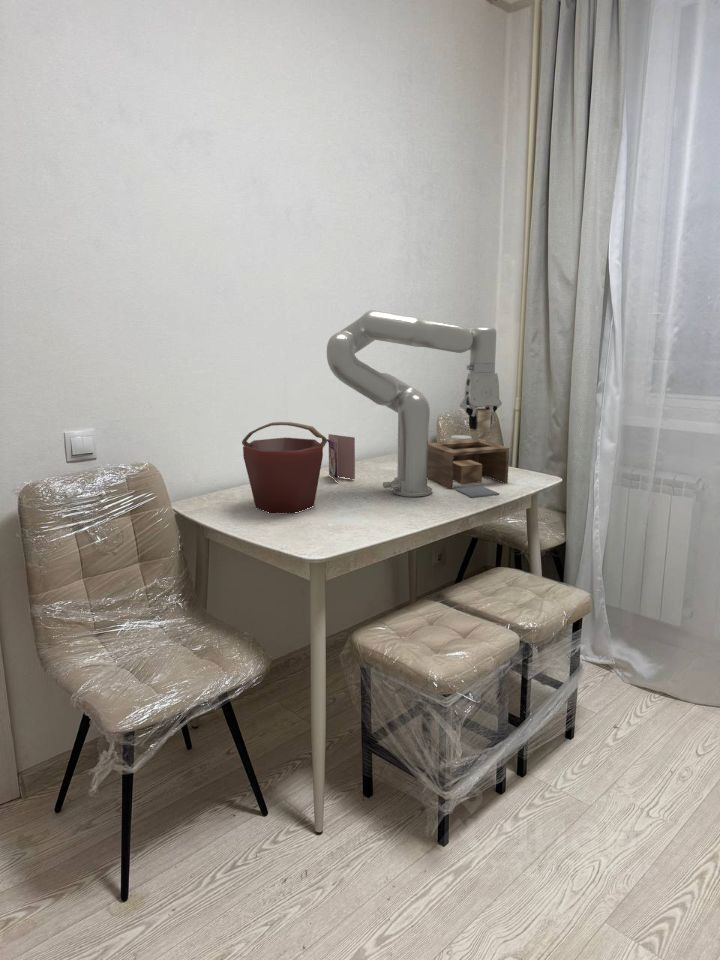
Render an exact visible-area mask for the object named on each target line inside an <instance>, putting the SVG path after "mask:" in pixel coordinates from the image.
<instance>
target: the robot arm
mask: <svg viewBox="0 0 720 960" xmlns="http://www.w3.org/2000/svg"><path fill="white" fill-rule="evenodd" d="M374 341H379V342H386V343H392V344H397V345H398V344H399V345H404V346H411V347H415V348H428V349H432V350H438V351H439V350H440V351H446V352H449V353H450V352H451V353H458V354H461V353H462V354H463V353H466V352H467V351H470V355H469V356H470V357H469V359H470V360H469V365H466V370H467V371H469V372H468V373H467V376H466V382H465V387H464V398H463V399H462V401H461V402H460V405H459V407H460V408H461V409H462V410H464V411H465V412H466V414H467V416H468V426H469V429H470V428H471V429H476V425H477V416H475V415H476V411H477V409H478V408H481V407H482V408H485V409H489V410H491V426H490V429H491V428H492V424H493V415H494V414H495V412H496V411H497V410H498V408H500V407H501V406H502V405H503V402H502V401H501V400H500V381H499V376H498V372H497V373H496V372H495V371H496V354H497V330H496V329H495V327H492V326H491V327H490V326H476V327H465V326H458V325H453V324H452V325H451V324H446V323H441V322H434V321H430V320H425V319H423V318H421V317H420V318H419V317H415V316H410V315H404V314H397V313H392V312H385V311H382V310H381V311H380V310H368V311H366V312H365V313H364V314H362V315H361V316H360V317H359V318H358V319H356V320H354V321H353V322H352V323H350V324H349V325H347V326H345V327H344V328H343V329H341V330H340V331H338V332H336V333H334V334H333V335H331V337H329V339H328V341H327V344H326V360H327V364H328V366H329V369H330V371H331V372H332V374H333V375H334V376H335V378H337V379H338V380H339V381H340V382H341V383H343V384H344V385H346V386H348V387H349V388H351V389H353V390H354V391H355V392H357V393H359V394H360V395H362V396H364V397H366V398H367V399H369V400H370V401H372V402H374V403H375V404H376V405H379V406H383V407H386V408H388V409H390V410H392V411H394V412H395V413H397V475H396V477H394V478H393V479H394V480H392V481H383V482H382V488H383V489H389V488H390V489H392V493H393V494H394V495H397V496H401V497H407V498H408V497H409V498H410V497H412V498H415V497H424V496H425V497H426V496H429V495H431V494H432V493H433V488H432V487H430V486H429V485H428V479H427V476H428V443H429V431H430V430H429V427H430V416H431V415H430V413H431V412H430V411H431V410H430V404H429V402H428V401H429V400H428V399H427V397H426V396H425V395H424V394H423V393H422V392H421V391H419V390H417V388H414V387H413V386H410V385H409V384H407V383H406V382H404V381H402V380H400V379H399V378H398V377H396V376H393V375H392V374H389V373H388V372H380V371H378V370H376V369H374V368H373V367H371V366H370V365H368V364H366V363H365V362H363V361H361V360H360V359H359V358H358V357H357V356H356V355H355V354H357V353H358V352H360V351H361V350H362V349H364V348H365V347H368V346H369V345H370V344H371V343H373V342H374Z"/></svg>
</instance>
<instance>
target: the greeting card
mask: <svg viewBox="0 0 720 960" xmlns="http://www.w3.org/2000/svg"><path fill="white" fill-rule="evenodd" d="M326 439H327V438H326ZM327 440H328V441H327V444H328V476H329V475H330V476H331V477H333V478H334V479H335V480H336V481H337V482H338V483H339V478H338V476H339V477H345V478H350V479H355V480H356V464H355V463H356V454H355V453H356V452H355V450H356V448H355V447H356V444H355V443H356V441H355V437H353V436H348V435H347V436H346V435H339V434H331V433H328V439H327ZM331 477H330V478H331ZM337 482H336V483H337Z"/></svg>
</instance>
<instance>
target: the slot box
mask: <svg viewBox="0 0 720 960" xmlns="http://www.w3.org/2000/svg"><path fill="white" fill-rule="evenodd" d="M509 463H510V447H507V446H505V445H501V444H498V443H495V442H491V441H488V440H485V439H482V438H479V439H472V440H462V441H450V440H448V441H440V442H439V441H438V442H428V476H427V478H428V479H427V480H430V481H432V482H434V483H436V484H438V485H440V486H442V485H443V486H442V487H444V488H446V487H447V489H448V488H449V490H453V486H454V483H453V481H454V482H456V483H459V484H460V483H461V484H460V485H463V484H462V483H464V484H472V482H474V483H482V481H483V476H485V475H486V477H488V478H490V477H491V479H493V478H494V479H493V480H495V479H496V481H498V480H499V482H500V481H502V482H501V483H503V482H504V483H503V484H508V482H509V481H508V480H509Z"/></svg>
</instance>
